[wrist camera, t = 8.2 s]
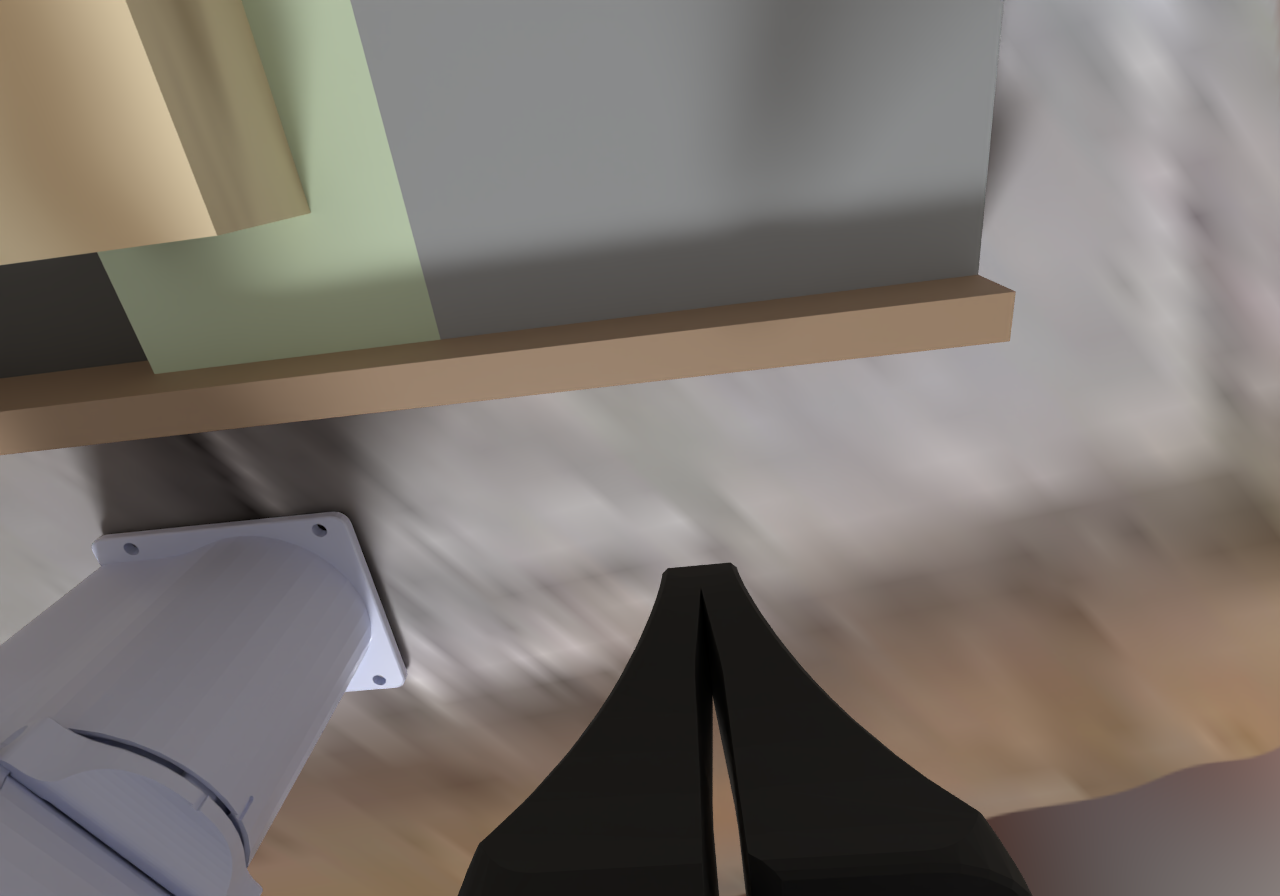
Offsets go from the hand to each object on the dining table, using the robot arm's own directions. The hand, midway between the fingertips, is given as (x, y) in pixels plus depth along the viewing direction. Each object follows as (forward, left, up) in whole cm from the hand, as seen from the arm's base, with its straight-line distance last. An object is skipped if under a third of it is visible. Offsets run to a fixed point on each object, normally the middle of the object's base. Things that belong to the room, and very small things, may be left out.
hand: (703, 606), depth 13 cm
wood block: (-12, +10, -7) cm, 17 cm away
